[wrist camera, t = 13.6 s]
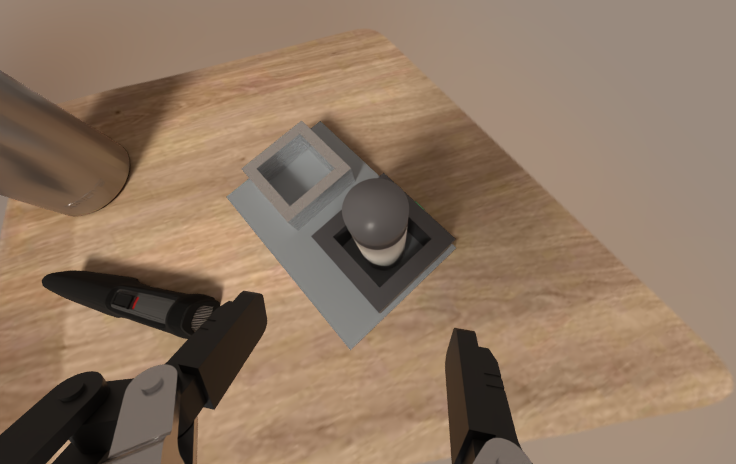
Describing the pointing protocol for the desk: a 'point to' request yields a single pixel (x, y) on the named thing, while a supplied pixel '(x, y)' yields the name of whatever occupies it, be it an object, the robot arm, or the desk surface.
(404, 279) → the port
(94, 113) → the desk surface
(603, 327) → the desk surface
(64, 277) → the electric trimmer
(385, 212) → the plug
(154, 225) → the desk surface
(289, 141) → the square frame
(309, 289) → the panel
